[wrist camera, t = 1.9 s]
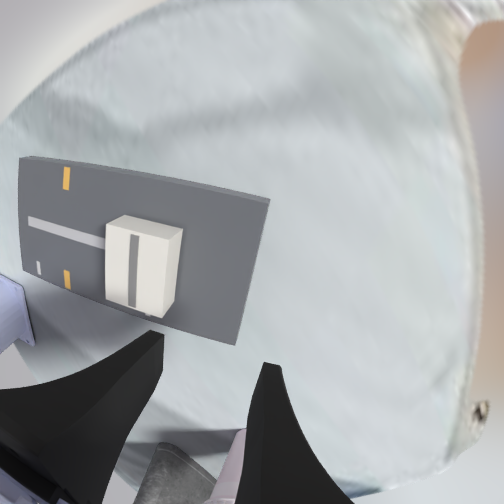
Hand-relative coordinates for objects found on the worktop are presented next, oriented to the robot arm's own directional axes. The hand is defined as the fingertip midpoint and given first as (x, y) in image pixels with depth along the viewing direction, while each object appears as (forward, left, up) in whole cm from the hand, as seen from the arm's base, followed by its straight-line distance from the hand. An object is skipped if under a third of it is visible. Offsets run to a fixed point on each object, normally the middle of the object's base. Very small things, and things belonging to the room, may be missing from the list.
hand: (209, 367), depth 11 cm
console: (-10, 0, -9) cm, 13 cm away
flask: (-1, -30, -10) cm, 32 cm away
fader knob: (-6, 0, -8) cm, 10 cm away
